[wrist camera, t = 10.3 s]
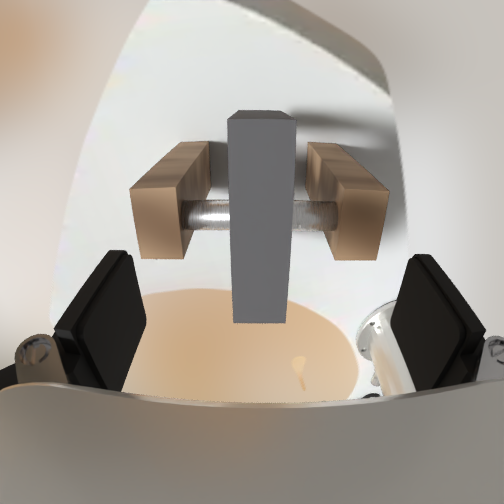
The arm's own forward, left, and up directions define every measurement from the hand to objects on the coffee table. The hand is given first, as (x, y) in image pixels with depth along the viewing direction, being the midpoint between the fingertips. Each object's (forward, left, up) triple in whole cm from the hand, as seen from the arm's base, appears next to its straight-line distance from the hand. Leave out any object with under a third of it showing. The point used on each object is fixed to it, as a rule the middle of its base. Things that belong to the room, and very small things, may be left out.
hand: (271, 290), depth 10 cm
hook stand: (-2, 0, -24) cm, 24 cm away
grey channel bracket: (-3, 0, -19) cm, 19 cm away
